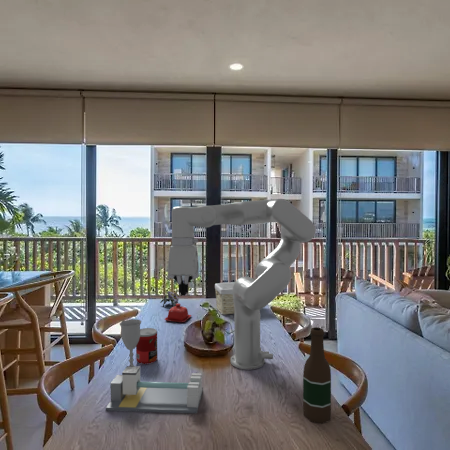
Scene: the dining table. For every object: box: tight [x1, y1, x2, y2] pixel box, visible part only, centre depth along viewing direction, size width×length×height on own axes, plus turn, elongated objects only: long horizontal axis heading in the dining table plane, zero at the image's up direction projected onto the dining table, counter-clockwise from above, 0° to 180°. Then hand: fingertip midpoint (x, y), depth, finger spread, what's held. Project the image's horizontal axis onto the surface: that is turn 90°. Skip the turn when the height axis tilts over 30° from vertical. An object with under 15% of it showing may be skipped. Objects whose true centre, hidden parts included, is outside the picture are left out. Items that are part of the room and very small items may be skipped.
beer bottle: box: [302, 326, 332, 424], centre depth 90 cm, size 8×8×24 cm
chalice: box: [119, 319, 142, 366], centre depth 114 cm, size 7×7×18 cm
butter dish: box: [164, 302, 192, 323], centre depth 172 cm, size 12×12×8 cm
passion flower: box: [159, 289, 180, 307], centre depth 196 cm, size 11×11×12 cm
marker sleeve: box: [121, 365, 141, 395], centre depth 99 cm, size 4×4×6 cm
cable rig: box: [105, 372, 204, 414], centre depth 99 cm, size 26×12×6 cm, turn 86°
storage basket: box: [214, 281, 236, 316], centre depth 187 cm, size 24×16×15 cm
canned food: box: [135, 327, 158, 365], centre depth 125 cm, size 8×8×11 cm
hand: (183, 294), depth 115 cm, fingers closed
